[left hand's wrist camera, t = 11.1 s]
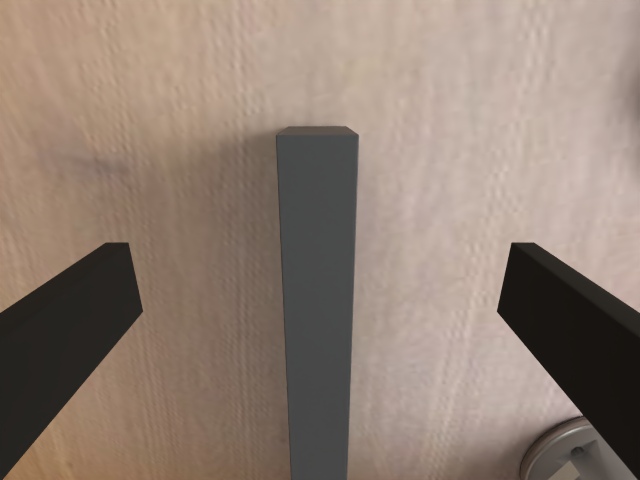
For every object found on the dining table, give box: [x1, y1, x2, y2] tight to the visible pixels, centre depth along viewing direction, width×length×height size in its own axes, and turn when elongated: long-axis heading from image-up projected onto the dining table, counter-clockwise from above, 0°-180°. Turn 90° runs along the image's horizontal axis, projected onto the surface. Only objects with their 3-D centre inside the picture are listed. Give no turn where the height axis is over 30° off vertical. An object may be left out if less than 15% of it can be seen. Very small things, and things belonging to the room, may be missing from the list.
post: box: [276, 126, 359, 480], centre depth 33 cm, size 53×5×9 cm, turn 0°
